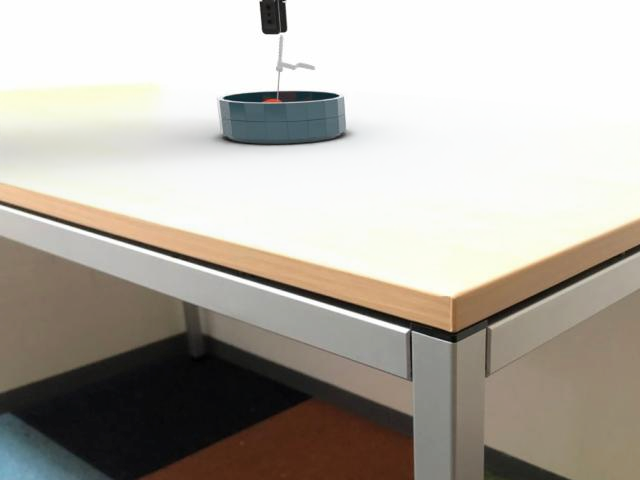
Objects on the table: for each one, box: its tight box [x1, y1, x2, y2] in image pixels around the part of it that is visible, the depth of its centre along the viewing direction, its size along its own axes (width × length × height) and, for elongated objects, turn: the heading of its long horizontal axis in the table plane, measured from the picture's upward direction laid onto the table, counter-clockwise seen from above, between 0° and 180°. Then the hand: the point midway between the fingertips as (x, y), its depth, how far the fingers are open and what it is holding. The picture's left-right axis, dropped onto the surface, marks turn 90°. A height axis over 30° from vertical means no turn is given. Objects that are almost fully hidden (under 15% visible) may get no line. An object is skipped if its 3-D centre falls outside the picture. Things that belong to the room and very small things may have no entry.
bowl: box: [216, 90, 347, 145], centre depth 99 cm, size 16×16×5 cm
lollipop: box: [262, 34, 316, 103], centre depth 97 cm, size 6×10×12 cm, turn 76°
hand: (275, 33), depth 95 cm, fingers open, 8 cm apart
